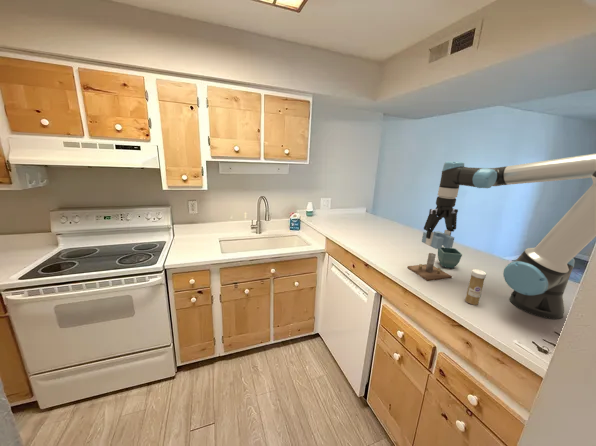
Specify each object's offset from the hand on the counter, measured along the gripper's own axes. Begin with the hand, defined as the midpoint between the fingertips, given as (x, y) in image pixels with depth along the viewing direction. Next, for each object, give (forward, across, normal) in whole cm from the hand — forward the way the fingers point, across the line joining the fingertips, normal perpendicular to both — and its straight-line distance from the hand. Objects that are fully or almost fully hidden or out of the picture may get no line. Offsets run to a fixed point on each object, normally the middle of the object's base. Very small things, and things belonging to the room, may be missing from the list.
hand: (436, 244), depth 114 cm
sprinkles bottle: (+16, +2, +23) cm, 28 cm away
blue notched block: (0, 0, 0) cm, 0 cm away
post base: (+16, -1, -2) cm, 16 cm away
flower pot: (+16, -17, -6) cm, 24 cm away
